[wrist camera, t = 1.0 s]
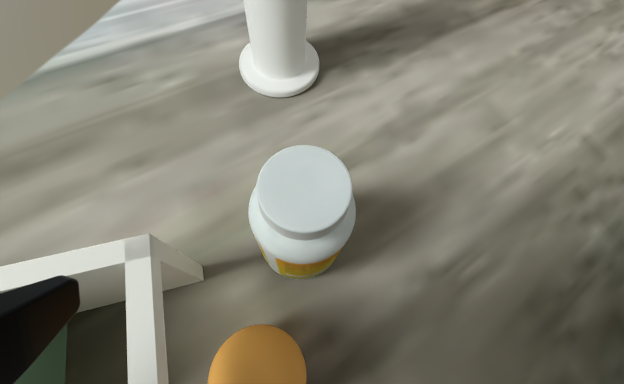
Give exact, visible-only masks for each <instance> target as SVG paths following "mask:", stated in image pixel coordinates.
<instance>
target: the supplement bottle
mask: <svg viewBox="0 0 624 384" xmlns="http://www.w3.org/2000/svg"><path fill="white" fill-rule="evenodd" d="M355 219H356V206H355V201H354V197H353V194H352V180H351V177H350V174H349V172H348V170H347V168H346V166H345V165H344V164H343V162H342V161H341V160H340V159H339V158H338V157H337V156H335V155H334V154H333V153H331V152H329V151H327V150H325V149H323V148H320V147H317V146H312V145H296V146H291V147H288V148H285V149H283V150H281V151H279V152H278V153H276V154H274V155H273V156H272V157H271V158H270V159H269V160H268V161H267V162H266V163H265V164H264V166H263V167H262V169H261V171H260V173H259V176H258V180H257V185H256V186H255V188H254V190H253V192H252V195H251V198H250V202H249V222H250V226H251V229H252V232H253V235H254V237H255V239H256V241H257V243H258V245H259V247H260V250H261V252H262V254H263V256H264V258H265V260H266V262H267V263H268V265H269V266H270V267H271V268H272V269H273V270H274V271H275V272H277V273H278V274H280V275H282V276H284V277H287V278H290V279H298V280H301V279H309V278H313V277H316V276H318V275H320V274H321V273H323V272H324V271H326V270H327V269H328V268H329V267H330V266H331V264H332V263H333V262H334V260H335V259H336V257H337V256H338V254H339V252H340V251H341V249H342V248H343V246H344V245H345V243H346V242H347V240H348V239H349V237H350V235H351V233H352V231H353V228H354V224H355Z"/></svg>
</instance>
